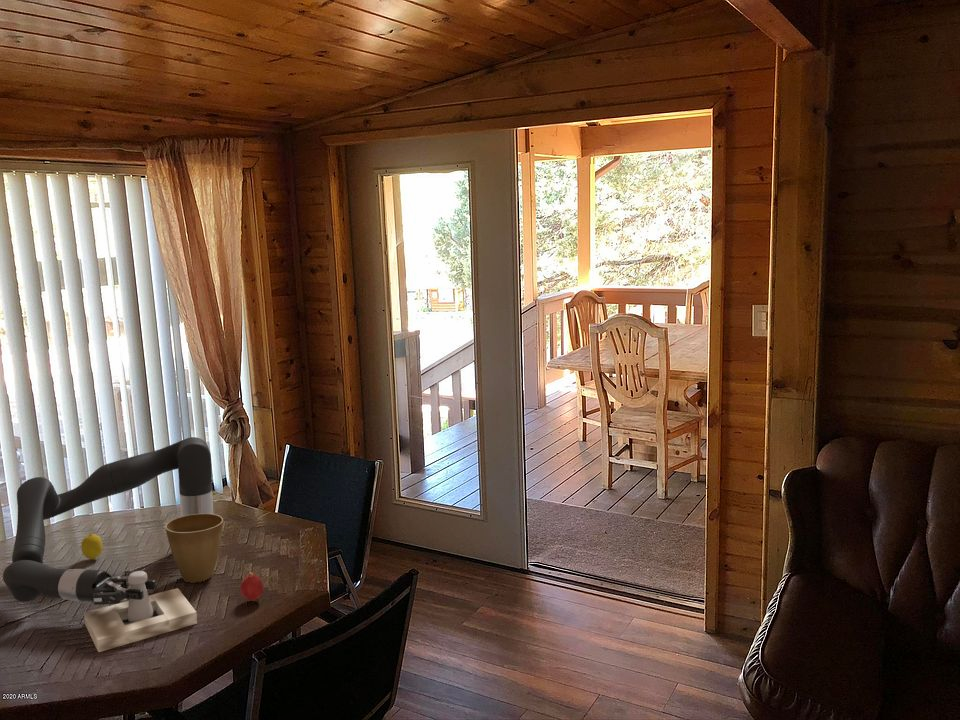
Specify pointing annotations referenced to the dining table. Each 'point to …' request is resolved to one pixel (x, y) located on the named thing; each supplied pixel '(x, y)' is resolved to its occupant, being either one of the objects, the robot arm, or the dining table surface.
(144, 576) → the salt shaker
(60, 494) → the robot arm
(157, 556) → the dining table surface
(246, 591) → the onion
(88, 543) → the lemon
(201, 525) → the plant pot
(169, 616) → the hole board
